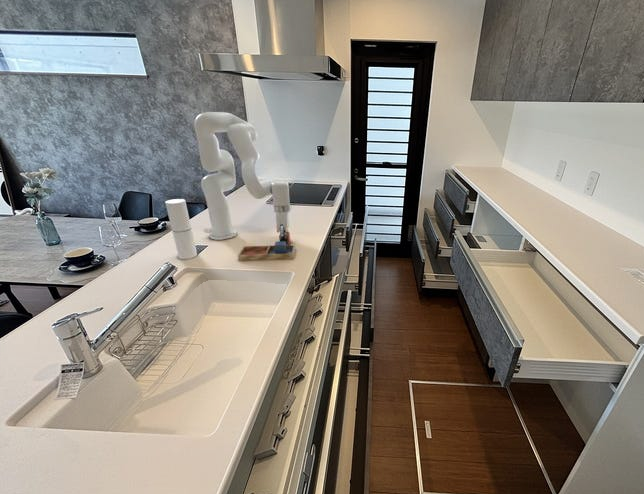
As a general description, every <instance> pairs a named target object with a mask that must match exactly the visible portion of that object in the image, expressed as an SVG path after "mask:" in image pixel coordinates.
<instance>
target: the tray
mask: <svg viewBox="0 0 644 494" xmlns="http://www.w3.org/2000/svg"><path fill="white" fill-rule="evenodd" d="M286 248H287V252H286V254H275V247H274V245H246V246H245V245H244V246H243V247H242V248H241V250H240V252H239V253H238V255H237V259H238V261H239V262H243V261H244V262H247V261H275V260H277V261H278V260H294V257H295V254H296V253H295V252H296V245H295V244H290V245H286Z"/></svg>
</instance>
